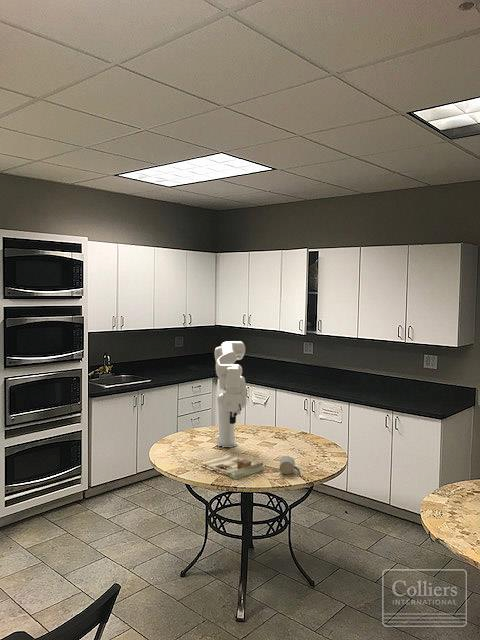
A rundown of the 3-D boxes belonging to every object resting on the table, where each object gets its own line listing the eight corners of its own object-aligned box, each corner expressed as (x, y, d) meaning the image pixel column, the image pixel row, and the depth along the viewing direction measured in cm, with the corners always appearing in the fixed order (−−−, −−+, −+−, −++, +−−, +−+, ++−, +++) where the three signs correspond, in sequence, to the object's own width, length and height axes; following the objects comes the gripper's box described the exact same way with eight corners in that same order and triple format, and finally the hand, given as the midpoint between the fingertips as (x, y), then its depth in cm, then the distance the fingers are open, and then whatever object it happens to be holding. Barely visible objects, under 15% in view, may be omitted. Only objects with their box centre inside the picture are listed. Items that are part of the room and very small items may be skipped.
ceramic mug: (279, 475, 269) (279, 460, 268) (279, 469, 277) (280, 455, 276) (300, 476, 268) (300, 461, 267) (300, 471, 276) (300, 456, 275)
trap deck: (201, 466, 280) (201, 459, 280) (228, 458, 295) (228, 451, 294) (235, 479, 262) (235, 471, 262) (262, 469, 276) (263, 462, 276)
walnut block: (237, 468, 272) (237, 460, 272) (244, 466, 275) (244, 458, 275) (244, 470, 268) (244, 463, 268) (251, 468, 272) (251, 461, 272)
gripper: (218, 388, 287) (218, 421, 289) (238, 393, 277) (237, 427, 278) (228, 386, 292) (228, 419, 294) (248, 391, 282) (247, 425, 284)
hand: (232, 423), depth 286 cm, fingers closed
